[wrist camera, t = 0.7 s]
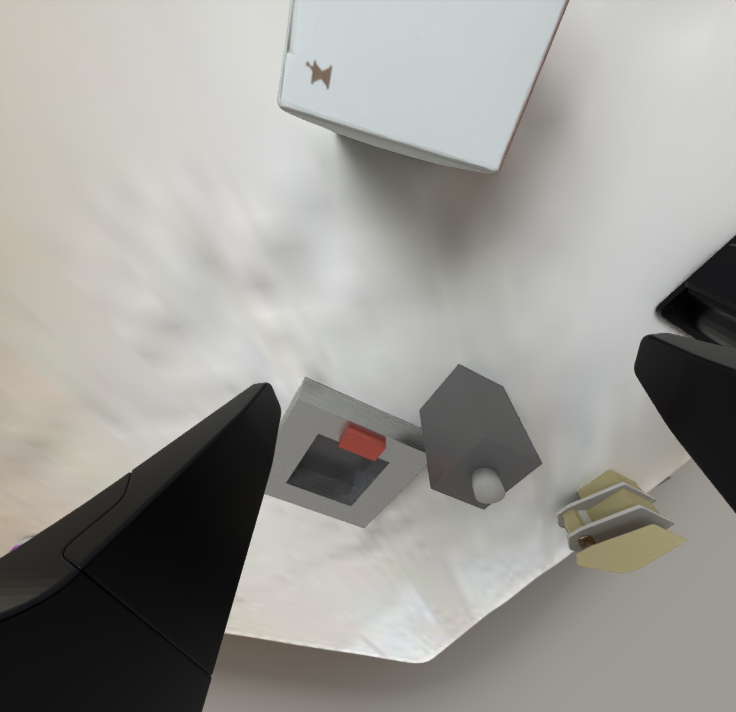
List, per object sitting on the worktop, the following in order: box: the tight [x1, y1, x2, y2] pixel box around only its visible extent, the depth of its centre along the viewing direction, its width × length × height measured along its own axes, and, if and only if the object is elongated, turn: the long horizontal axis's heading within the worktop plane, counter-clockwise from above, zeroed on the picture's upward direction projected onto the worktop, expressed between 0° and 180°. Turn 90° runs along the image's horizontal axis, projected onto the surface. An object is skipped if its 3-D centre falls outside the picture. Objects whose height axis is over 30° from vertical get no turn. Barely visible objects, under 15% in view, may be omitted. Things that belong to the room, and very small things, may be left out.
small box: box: [277, 0, 569, 174], centre depth 10 cm, size 8×6×10 cm
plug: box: [419, 364, 542, 509], centre depth 22 cm, size 4×5×8 cm
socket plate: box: [264, 377, 427, 528], centre depth 27 cm, size 11×11×3 cm
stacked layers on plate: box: [556, 470, 687, 573], centre depth 28 cm, size 10×9×6 cm
